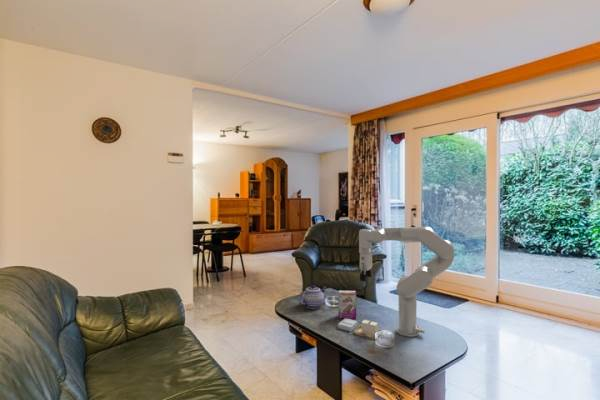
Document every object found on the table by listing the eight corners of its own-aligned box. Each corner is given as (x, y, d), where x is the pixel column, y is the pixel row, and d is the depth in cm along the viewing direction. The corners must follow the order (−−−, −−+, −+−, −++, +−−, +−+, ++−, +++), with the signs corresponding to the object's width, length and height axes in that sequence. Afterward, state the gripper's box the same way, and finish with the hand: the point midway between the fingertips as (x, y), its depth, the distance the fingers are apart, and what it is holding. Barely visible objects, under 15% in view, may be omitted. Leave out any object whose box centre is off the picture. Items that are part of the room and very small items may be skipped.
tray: (382, 333, 167) (382, 330, 167) (376, 340, 159) (376, 337, 159) (359, 327, 175) (359, 324, 175) (353, 333, 167) (353, 330, 167)
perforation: (348, 332, 168) (348, 332, 168) (348, 332, 168) (348, 332, 168) (336, 329, 172) (336, 329, 172) (336, 329, 172) (336, 329, 172)
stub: (378, 333, 165) (378, 322, 165) (375, 336, 162) (375, 325, 162) (364, 330, 170) (364, 319, 170) (361, 332, 167) (361, 322, 166)
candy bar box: (338, 318, 187) (338, 292, 187) (338, 315, 192) (338, 290, 192) (356, 319, 186) (356, 293, 186) (356, 315, 191) (355, 290, 191)
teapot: (304, 314, 195) (304, 291, 195) (292, 307, 208) (291, 285, 207) (334, 305, 209) (333, 284, 209) (320, 299, 222) (320, 279, 221)
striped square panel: (357, 325, 178) (357, 321, 178) (350, 331, 170) (350, 327, 170) (345, 322, 182) (345, 318, 182) (338, 328, 174) (338, 323, 174)
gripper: (366, 253, 168) (366, 283, 169) (376, 248, 183) (376, 276, 183) (354, 252, 172) (354, 281, 173) (364, 247, 187) (364, 274, 187)
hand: (365, 278), depth 178 cm, fingers open, 9 cm apart
